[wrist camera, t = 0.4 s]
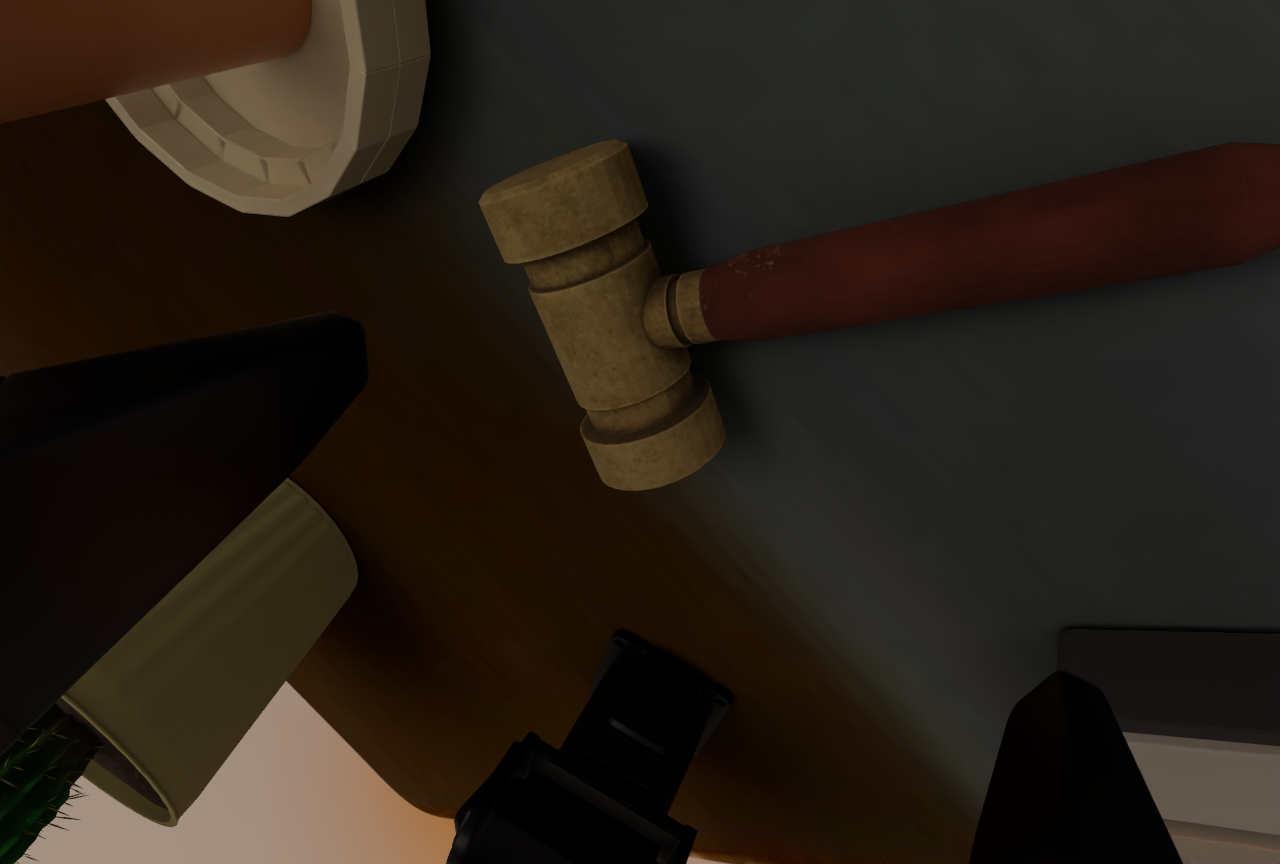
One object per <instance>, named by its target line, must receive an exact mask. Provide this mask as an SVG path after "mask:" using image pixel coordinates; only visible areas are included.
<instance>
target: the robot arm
mask: <svg viewBox="0 0 1280 864" xmlns="http://www.w3.org/2000/svg"><path fill="white" fill-rule="evenodd" d="M368 377H369V359H368V348H367V338H366V331H365V328H364V327H363V325H362V324H361V323H360V322H358V321H356V320H354V319H352V318H350V317H348V316H346V315H344V314H342V313H339V312H334V311H331V312H325V313H319V314H314V315H309V316H304V317H299V318H294V319H289V320H284V321H279V322H274V323H269V324H264V325H258V326H253V327H248V328H243V329H238V330H233V331H228V332H223V333H218V334H213V335H208V336H202V337H197V338H192V339H187V340H182V341H177V342H172V343H167V344H162V345H156V346H151V347H146V348H141V349H136V350H131V351H126V352H121V353H116V354H111V355H105V356H100V357H95V358H90V359H85V360H80V361H75V362H70V363H65V364H59V365H54V366H49V367H44V368H39V369H34V370H29V371H24V372H19V373H14V374H11V375H9V376H8V377H5V376H0V756H1V755H2V754H3V753H5V752H6V751H7V750H8V749H9V748H10V747H11V746H12V745H13V744H14V743H15V742H16V741H17V740H18V739H19V738H20V737H21V736H22V734H23V732H24V731H26V730H28V729H29V728H30V727H31V726H32V725H33V724H34V723H35V722H36V721H37V720H38V719H39V718H40V717H41V716H42V715H43V714H44V713H45V712H46V711H47V710H48V709H49V708H50V707H51V706H52V705H53V704H54V703H56V702H57V701H58V700H59V699H60V698H61V697H62V696H63V695H64V694H65V693H66V692H67V691H68V690H69V689H70V688H71V687H72V686H73V685H74V684H75V683H76V682H77V681H78V680H79V679H80V678H81V677H82V676H83V675H84V674H85V673H87V672H88V671H89V670H90V669H91V668H92V667H93V666H94V665H95V664H96V663H97V662H98V661H99V660H100V659H101V658H102V657H103V656H104V655H105V654H106V653H107V652H108V651H109V650H110V649H111V648H112V647H113V646H114V645H115V644H116V643H117V642H119V641H120V640H121V639H122V638H123V637H124V636H125V635H126V634H127V633H128V632H129V631H130V630H131V629H132V628H133V627H134V626H135V625H136V624H137V623H138V622H139V621H140V620H141V619H142V618H143V617H144V616H145V615H146V614H147V613H148V612H149V611H151V610H152V609H153V608H154V607H155V606H156V605H157V604H158V603H159V602H160V601H161V600H162V599H163V598H164V597H165V596H166V595H167V594H168V593H169V592H170V591H171V590H172V589H173V588H174V587H175V586H176V585H177V584H178V583H179V582H180V581H181V580H183V579H184V578H185V577H186V576H187V575H188V574H189V573H190V572H191V571H192V570H193V569H194V568H195V567H196V566H197V565H198V564H199V563H200V562H201V561H202V560H203V559H204V558H205V557H206V556H207V555H208V554H209V553H210V552H211V551H212V550H213V549H215V548H216V547H217V546H218V545H219V544H220V543H221V542H222V541H223V540H224V539H225V538H226V537H227V536H228V535H229V534H230V533H231V532H232V531H233V530H234V529H235V528H236V527H237V526H238V525H239V524H240V523H241V522H242V521H243V520H244V519H245V518H247V517H248V516H249V515H250V514H251V513H252V512H253V511H254V510H255V509H256V508H257V507H258V506H259V505H260V504H261V503H262V502H263V501H264V500H265V499H266V498H267V497H268V496H269V495H270V494H271V493H272V492H273V491H274V490H275V489H276V488H277V487H279V486H280V485H281V484H282V483H283V482H284V481H285V480H286V479H287V477H288V476H289V475H290V474H291V473H292V472H293V471H294V470H295V469H296V468H297V467H298V466H299V465H300V464H301V462H302V461H303V460H304V459H305V458H306V457H307V456H308V454H309V453H310V452H311V451H312V450H313V448H314V447H315V446H316V445H317V444H318V442H319V441H320V440H321V439H322V438H323V436H324V435H325V434H326V433H327V432H328V430H329V429H330V428H331V427H332V426H333V424H334V423H335V422H336V421H337V420H338V418H339V417H340V416H341V415H342V414H343V412H344V411H345V410H346V409H347V408H348V406H349V405H350V404H351V403H352V402H353V400H354V399H355V398H356V397H357V396H358V394H359V393H360V392H361V391H362V389H363V388H364V386H365V385H366V383H367V380H368ZM590 694H591V697H590V699H589V701H588V702H587V704H586V706H585V708H584V709H583V711H582V713H581V714H580V716H579V718H578V719H577V721H576V723H575V724H574V726H573V728H572V729H571V731H570V733H569V734H568V736H567V738H566V740H565V741H564V743H563V745H562V746H561V748H560V750H557V749H556V748H554V747H552V746H551V745H549V744H547V743H545V742H544V741H542V740H540V736H538V735H536V734H534V733H533V732H531V731H530V732H529V733H528V734H527V736H526V737H525V739H524V740H523V741H522V742H515V741H514V742H513V744H512V745H511V747H510V748H509V750H508V751H507V753H506V754H505V756H504V757H503V759H502V760H501V762H500V763H499V765H498V766H497V768H496V769H495V770H494V772H493V773H492V774H491V775H490V777H489V778H488V779H487V780H486V781H485V782H484V783H483V784H482V785H481V786H480V787H479V788H478V789H477V791H476V792H475V793H474V794H473V795H472V796H471V797H470V798H469V799H468V800H467V801H466V802H465V804H464V805H463V806H462V807H461V808H460V809H459V811H458V812H457V814H456V816H455V818H454V823H455V830H456V836H455V838H454V841H453V844H452V849H451V851H450V853H449V856H448V859H447V863H446V864H686V863H687V859H688V857H689V854H690V851H691V848H692V846H693V843H694V840H695V837H696V834H697V830H695V829H693V828H692V827H690V826H688V825H686V826H684V825H683V824H681V823H679V822H677V821H676V820H674V819H672V818H671V817H669V816H667V814H668V812H669V810H670V807H671V805H672V803H673V801H674V798H675V796H676V794H677V792H678V789H679V787H680V785H681V782H682V780H683V778H684V776H685V773H686V771H687V769H688V766H689V764H690V762H691V760H692V757H693V756H696V755H697V754H698V753H699V751H700V750H701V748H702V747H703V746H704V744H705V743H706V741H707V740H708V738H709V737H710V735H711V734H712V732H713V731H714V729H715V728H716V726H717V725H718V723H719V722H720V721H721V719H722V718H723V716H724V715H725V713H726V712H727V710H728V709H729V707H730V705H731V702H732V700H733V697H732V695H731V694H730V693H729V692H728V691H726V690H725V689H723V688H721V687H719V686H718V685H716V684H714V683H712V682H711V681H709V680H707V679H706V678H704V677H702V676H700V675H699V674H697V673H695V672H693V671H692V670H690V669H688V668H686V667H685V666H683V665H681V664H679V663H678V662H676V661H674V660H673V659H671V658H669V657H667V656H666V655H664V654H662V653H660V652H659V651H657V650H655V649H653V648H652V647H650V646H648V645H646V644H645V643H643V642H641V641H640V640H638V639H636V638H634V637H633V636H631V635H629V634H627V633H626V632H623V631H620V630H618V631H615V633H614V634H613V636H612V637H611V639H610V642H609V644H608V647H607V649H606V652H605V655H604V657H603V660H602V662H601V665H600V667H599V670H598V673H597V675H596V678H595V680H594V683H593V685H592V688H591V691H590ZM969 864H1183V862H1182V859H1181V857H1180V855H1179V853H1178V851H1177V849H1176V846H1175V844H1174V842H1173V840H1172V838H1171V836H1170V834H1169V831H1168V829H1167V827H1166V825H1165V823H1164V821H1163V819H1162V816H1161V814H1160V812H1159V810H1158V808H1157V806H1156V804H1155V801H1154V799H1153V797H1152V795H1151V793H1150V791H1149V788H1148V786H1147V784H1146V782H1145V780H1144V778H1143V776H1142V773H1141V771H1140V769H1139V767H1138V765H1137V763H1136V761H1135V758H1134V756H1133V754H1132V752H1131V750H1130V748H1129V746H1128V743H1127V741H1126V739H1125V737H1124V735H1123V733H1122V730H1121V728H1120V726H1119V724H1118V722H1117V720H1116V718H1115V715H1114V713H1113V711H1112V709H1111V707H1110V705H1109V703H1108V700H1107V698H1106V697H1105V695H1104V693H1103V692H1102V691H1101V690H1100V689H1099V688H1098V687H1097V686H1095V685H1093V684H1091V683H1089V682H1087V681H1085V680H1083V679H1081V678H1079V677H1077V676H1075V675H1073V674H1071V673H1069V672H1067V671H1063V670H1061V671H1056V672H1054V673H1052V674H1051V675H1050V676H1048V677H1047V678H1046V679H1045V680H1044V681H1042V682H1041V683H1040V684H1039V685H1038V686H1036V687H1035V688H1034V689H1033V690H1032V691H1030V692H1029V693H1028V694H1027V695H1026V696H1025V697H1023V698H1022V699H1021V700H1020V701H1019V702H1018V703H1017V704H1016V705H1015V707H1014V708H1013V710H1012V711H1011V713H1010V716H1009V718H1008V721H1007V724H1006V727H1005V731H1004V735H1003V738H1002V742H1001V745H1000V749H999V752H998V756H997V759H996V763H995V766H994V770H993V774H992V777H991V781H990V784H989V788H988V791H987V795H986V798H985V802H984V805H983V809H982V813H981V816H980V820H979V823H978V827H977V831H976V835H975V839H974V843H973V847H972V852H971V857H970V863H969Z"/></svg>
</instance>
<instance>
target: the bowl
mask: <svg viewBox="0 0 1280 864" xmlns="http://www.w3.org/2000/svg"><path fill="white" fill-rule="evenodd" d="M311 6H312V14H311V24H310V29H309V32H308V35H307V38H306V40H305V41H304V43H303V45H302V46H301V47H300V48H299V49H298V50H297V51H296V52H295V53H293V54H291V55H289V56H286V57H282V58H278V59H274V60H269V61H265V62H261V63H257V64H252V65H248V66H244V67H240V68H235V69H231V70H227V71H223V72H218V73H214V74H210V75H206V76H201V77H197V78H193V79H189V80H184V81H180V82H176V83H172V84H167V85H163V86H159V87H155V88H150V89H146V90H142V91H137V92H133V93H129V94H125V95H120V96H116V97H112V98H108V99H105V100H106V101H107V103H108V104H109V105H110V106H111V108H112V109H113V110H114V111H115V113H116V114H117V115H118V116H119V118H120V119H121V120H122V122H123V123H124V124H125V125H126V127H127V128H128V129H129V130H130V132H131V133H132V134H133V135H134V137H135V138H136V139H138V141H139V142H140V143H141V144H142V145H144V146H145V147H146V148H147V149H148V150H149V151H150V152H152V153H153V154H154V155H155V156H156V157H157V158H158V159H159V160H161V161H162V162H163V163H164V164H165V165H166V166H167V167H169V168H170V169H171V170H172V171H173V172H174V173H175V174H177V175H178V176H179V177H180V178H181V179H182V180H183V181H184V182H186V183H187V184H188V185H190V186H191V187H193V188H195V189H197V190H199V191H201V192H203V193H205V194H207V195H208V196H210V197H212V198H214V199H216V200H218V201H220V202H222V203H224V204H226V205H228V206H230V207H232V208H234V209H236V210H238V211H241V212H243V213H254V214H264V215H274V216H285V217H289V216H293V215H295V214H297V213H300V212H302V211H304V210H306V209H309V208H311V207H313V206H315V205H318V204H320V203H322V202H325V201H327V200H329V199H331V198H334V197H336V196H338V195H341V194H343V193H345V192H347V191H350V190H352V189H354V188H356V187H358V186H360V185H362V184H364V183H366V182H368V181H370V180H372V179H374V178H376V177H378V176H380V175H382V174H384V173H386V172H387V171H389V169H390V168H391V166H392V165H393V163H394V162H395V160H396V159H397V157H398V156H399V154H400V153H401V151H402V150H403V148H404V146H405V145H406V143H407V142H408V140H409V139H410V137H411V136H412V134H413V133H414V131H415V130H416V128H417V125H418V122H419V117H420V111H421V106H422V101H423V95H424V90H425V85H426V79H427V74H428V69H429V63H430V58H431V57H430V54H431V52H430V42H429V31H428V21H427V10H426V0H311Z"/></svg>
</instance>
